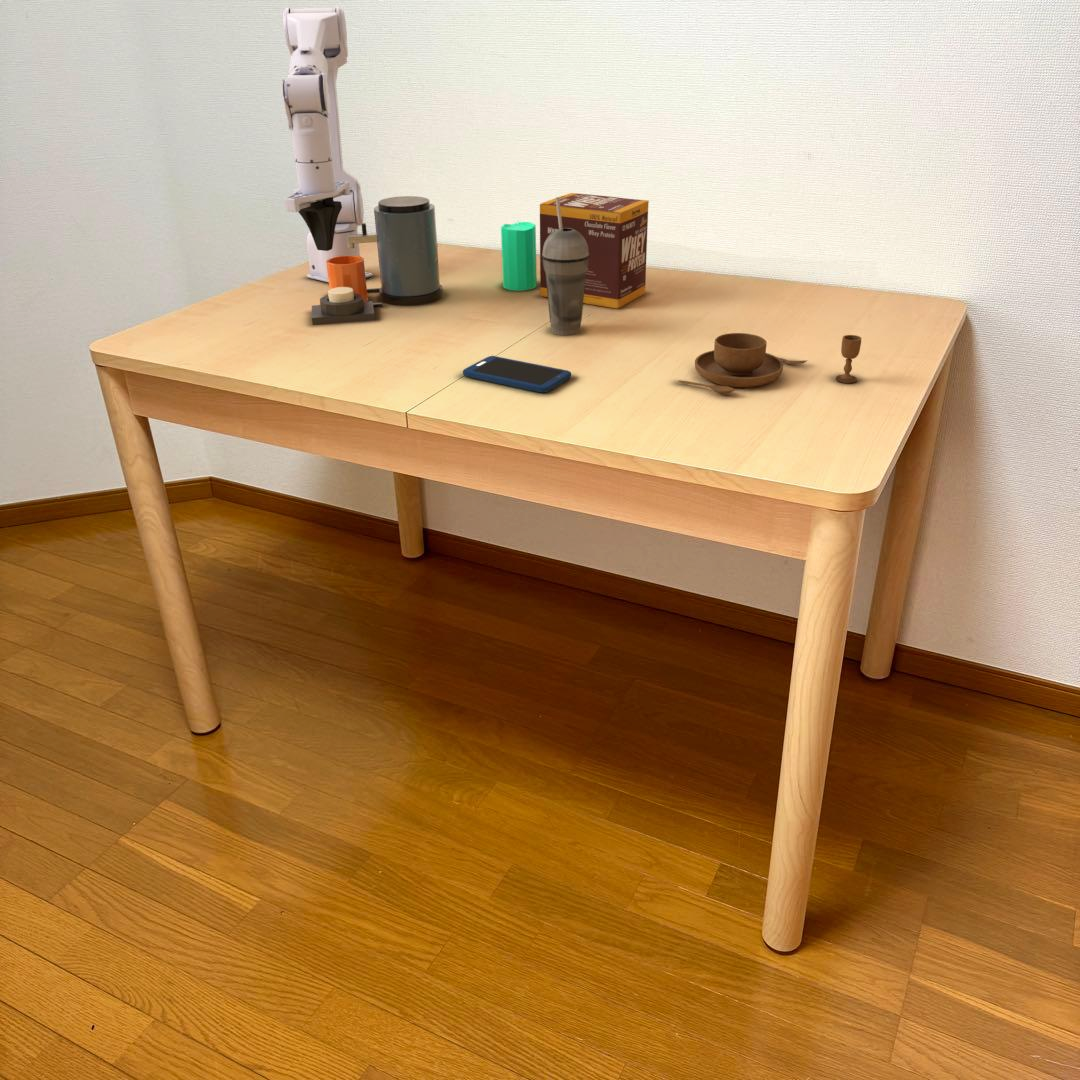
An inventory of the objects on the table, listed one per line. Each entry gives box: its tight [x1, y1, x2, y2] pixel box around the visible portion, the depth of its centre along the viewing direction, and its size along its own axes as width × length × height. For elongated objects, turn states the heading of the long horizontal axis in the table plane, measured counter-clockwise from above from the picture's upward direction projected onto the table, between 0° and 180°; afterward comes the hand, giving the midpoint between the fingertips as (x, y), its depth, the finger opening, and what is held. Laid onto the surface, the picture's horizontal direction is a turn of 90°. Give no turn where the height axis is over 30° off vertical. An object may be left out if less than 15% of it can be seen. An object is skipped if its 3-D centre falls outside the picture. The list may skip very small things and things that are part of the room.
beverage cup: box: [541, 196, 590, 336], centre depth 153 cm, size 7×7×20 cm
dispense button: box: [327, 287, 354, 303], centre depth 165 cm, size 4×4×2 cm
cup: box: [326, 255, 369, 302], centre depth 172 cm, size 6×6×7 cm
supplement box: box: [539, 192, 650, 309], centre depth 171 cm, size 10×15×16 cm
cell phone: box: [462, 355, 572, 394], centre depth 141 cm, size 7×14×1 cm, turn 58°
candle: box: [500, 221, 538, 292], centre depth 177 cm, size 6×6×12 cm
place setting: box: [677, 332, 862, 394], centre depth 136 cm, size 18×20×6 cm
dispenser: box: [347, 195, 444, 309], centre depth 171 cm, size 19×11×16 cm, turn 101°
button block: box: [311, 293, 376, 326], centre depth 166 cm, size 10×7×3 cm
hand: (324, 249), depth 163 cm, fingers closed
